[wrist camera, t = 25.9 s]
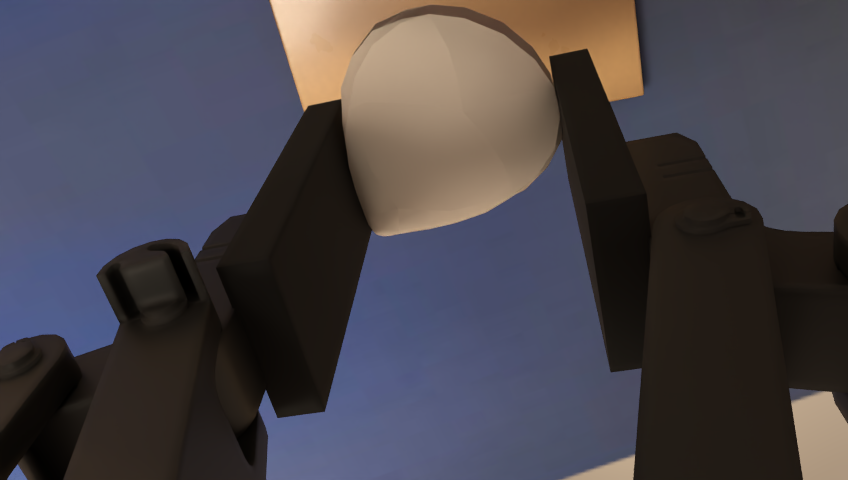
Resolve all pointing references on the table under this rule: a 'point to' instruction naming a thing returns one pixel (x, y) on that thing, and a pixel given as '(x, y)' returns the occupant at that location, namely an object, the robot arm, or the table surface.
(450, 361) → the table surface
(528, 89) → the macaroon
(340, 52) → the wooden board
